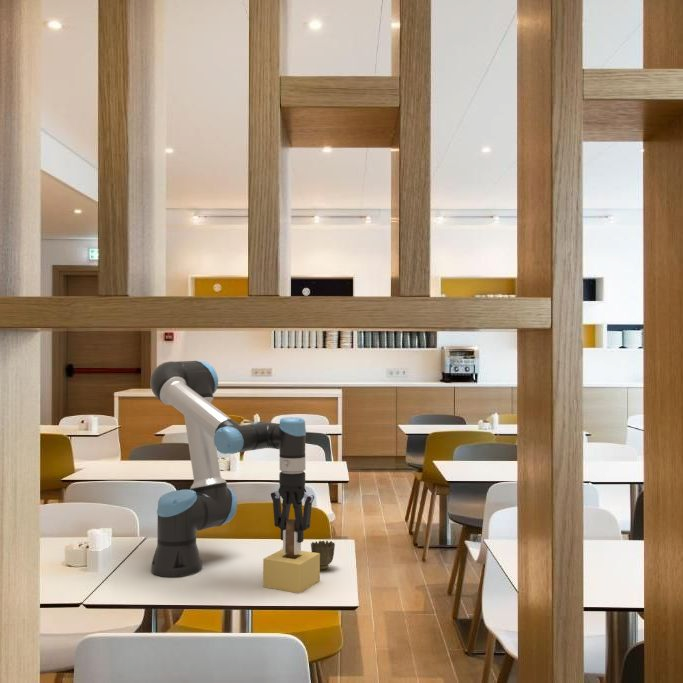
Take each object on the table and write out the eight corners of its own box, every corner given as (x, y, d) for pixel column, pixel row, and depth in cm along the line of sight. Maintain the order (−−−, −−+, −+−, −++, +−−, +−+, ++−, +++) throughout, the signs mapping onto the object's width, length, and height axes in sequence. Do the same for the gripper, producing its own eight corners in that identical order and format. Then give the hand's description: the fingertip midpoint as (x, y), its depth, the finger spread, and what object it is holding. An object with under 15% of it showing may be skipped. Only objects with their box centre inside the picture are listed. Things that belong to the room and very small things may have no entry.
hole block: (263, 586, 207) (263, 558, 207) (283, 574, 218) (284, 548, 218) (300, 593, 202) (300, 564, 202) (319, 580, 212) (319, 553, 212)
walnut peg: (284, 569, 209) (284, 520, 209) (289, 566, 212) (289, 518, 212) (293, 571, 207) (294, 522, 207) (299, 567, 210) (299, 519, 210)
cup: (310, 565, 227) (310, 540, 227) (333, 565, 227) (334, 539, 227) (311, 573, 219) (311, 546, 219) (335, 572, 220) (335, 546, 220)
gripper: (261, 471, 210) (261, 552, 210) (310, 475, 203) (310, 559, 203) (274, 467, 216) (274, 545, 216) (322, 471, 210) (322, 552, 210)
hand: (291, 552), depth 210 cm, fingers closed on walnut peg, 3 cm apart
